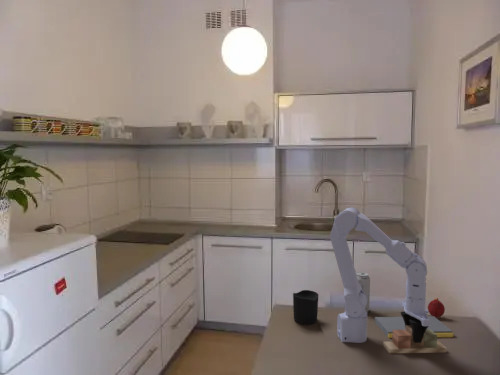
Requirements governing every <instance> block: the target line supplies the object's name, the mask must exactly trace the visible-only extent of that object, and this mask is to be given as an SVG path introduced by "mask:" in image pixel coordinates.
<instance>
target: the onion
mask: <svg viewBox="0 0 500 375" xmlns="http://www.w3.org/2000/svg"><path fill="white" fill-rule="evenodd" d="M445 308H446V307H445V305H444V304H443V303H442V302H441V301H440V299H439V298H438V297H435V298H434V299H432V300H431V301H430V302H428V304H427V310H428V311H429V313H428V314H430V316H434V317H435V318H437V319H438V318H441V317H442V316H443V315H444V314H445V310H446V309H445Z"/></svg>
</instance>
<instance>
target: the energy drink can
mask: <svg viewBox="0 0 500 375" xmlns="http://www.w3.org/2000/svg"><path fill="white" fill-rule="evenodd" d="M356 275H357V279H358V282H359V284H360V285H361V287H362V290H363V292H364V293H365V294H366V296H367V298H368V303H367V305H366V306H365V310H366V312H367V313H368V312H369V310H370V299H371V298H370V296H371V294H370V293H371V290H370V289H371V278H370V276H369V273H367V272H362V271H359V272H356Z"/></svg>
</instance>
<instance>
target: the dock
mask: <svg viewBox="0 0 500 375" xmlns="http://www.w3.org/2000/svg"><path fill="white" fill-rule="evenodd" d="M427 317H428V319H429V320H430V326H429V327H428V328H427V329H431V330H432V331H433V332H434V333H435V334H437V338H454V332H453V330H452V329H451V328H449V327H448V326H447V325H445V324H444V323H443V322H442V321H440V320H439V319H438V318H435V317H434V316H432V315H429V316H428V315H427ZM374 323H375V324H376V325H377V326H378V328H380V330H381V331H382V332H383V333H384V334H385V336H386V337H387V338H388V339H392V336H393V330H406V327H405V323H404V320H403V317H402V316H374Z"/></svg>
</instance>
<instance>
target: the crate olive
mask: <svg viewBox="0 0 500 375" xmlns="http://www.w3.org/2000/svg"><path fill="white" fill-rule="evenodd" d="M437 341H438V337H437V334H435V333H434V332H433V331H432V330H431V329H426V331H425V333H424V348H437Z"/></svg>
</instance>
